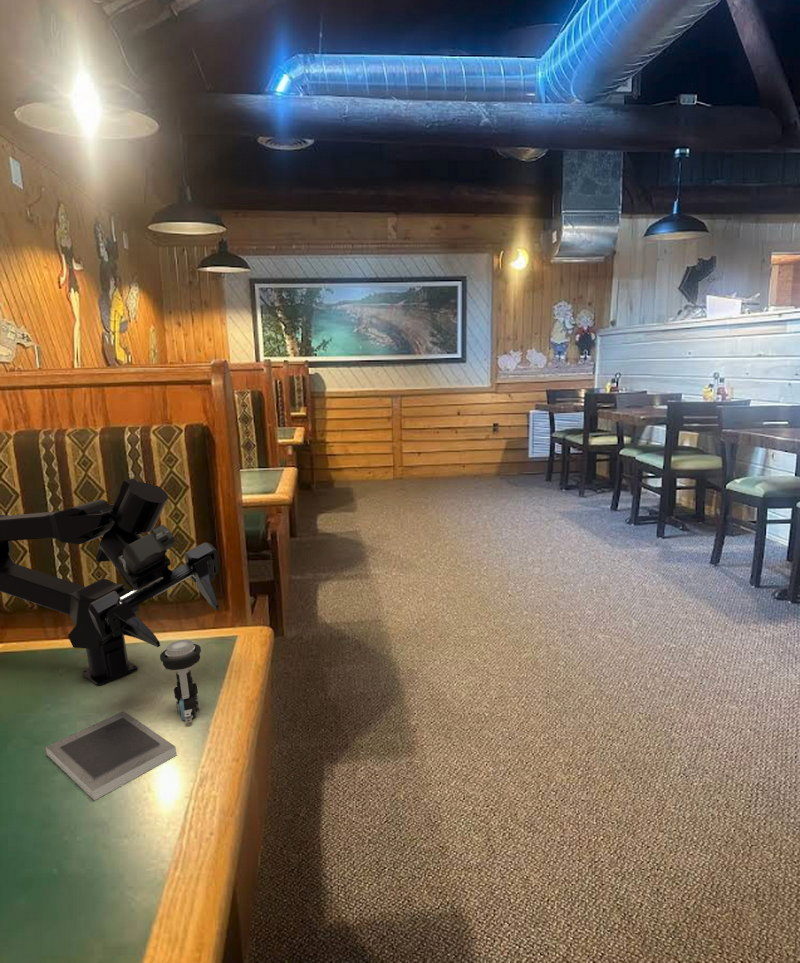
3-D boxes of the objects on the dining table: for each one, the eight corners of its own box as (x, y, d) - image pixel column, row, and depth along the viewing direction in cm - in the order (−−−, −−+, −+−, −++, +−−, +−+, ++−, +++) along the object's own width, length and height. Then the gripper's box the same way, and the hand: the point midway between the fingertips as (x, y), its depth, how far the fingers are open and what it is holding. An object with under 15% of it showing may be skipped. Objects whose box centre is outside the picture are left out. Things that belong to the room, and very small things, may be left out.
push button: (209, 721, 82) (199, 653, 80) (167, 731, 80) (157, 661, 79) (208, 698, 88) (199, 634, 86) (169, 706, 87) (160, 641, 85)
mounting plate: (47, 755, 77) (45, 745, 76) (124, 718, 84) (123, 709, 84) (94, 800, 68) (92, 789, 67) (176, 755, 75) (175, 745, 75)
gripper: (57, 553, 81) (114, 632, 74) (183, 493, 91) (243, 558, 85) (75, 601, 88) (129, 676, 81) (190, 540, 99) (246, 603, 92)
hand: (189, 626), depth 85 cm, fingers open, 9 cm apart
